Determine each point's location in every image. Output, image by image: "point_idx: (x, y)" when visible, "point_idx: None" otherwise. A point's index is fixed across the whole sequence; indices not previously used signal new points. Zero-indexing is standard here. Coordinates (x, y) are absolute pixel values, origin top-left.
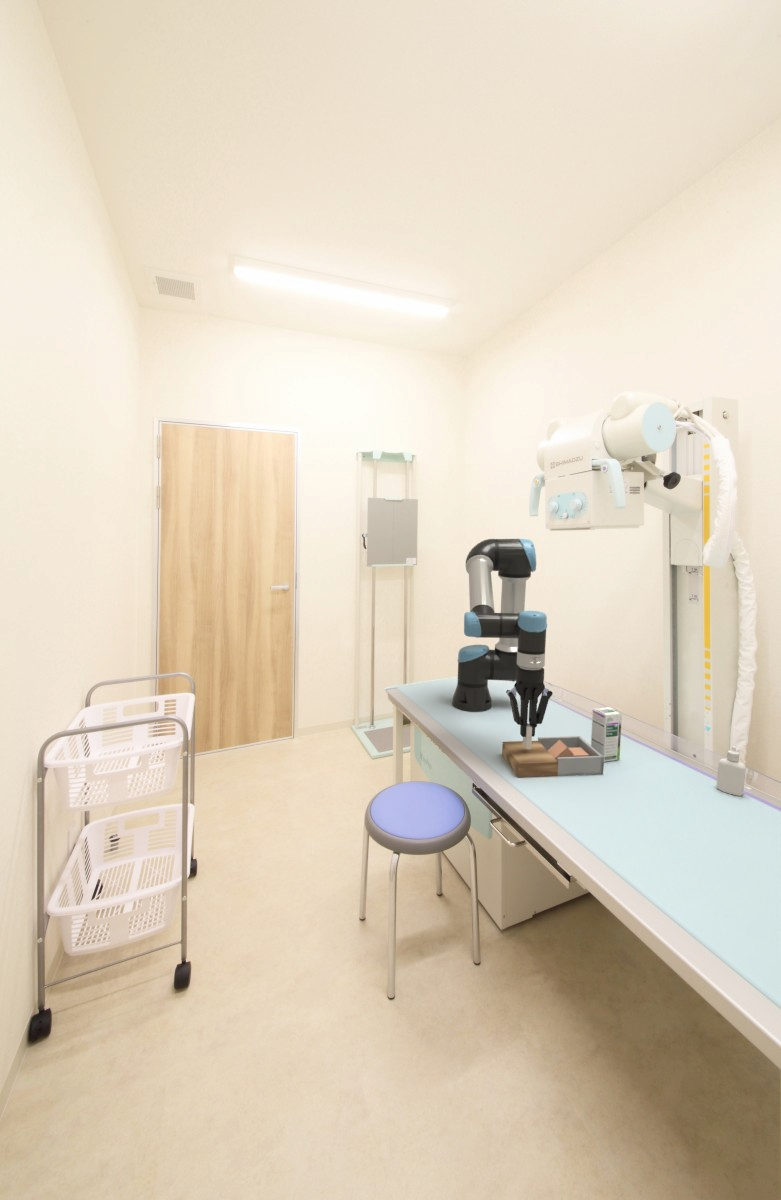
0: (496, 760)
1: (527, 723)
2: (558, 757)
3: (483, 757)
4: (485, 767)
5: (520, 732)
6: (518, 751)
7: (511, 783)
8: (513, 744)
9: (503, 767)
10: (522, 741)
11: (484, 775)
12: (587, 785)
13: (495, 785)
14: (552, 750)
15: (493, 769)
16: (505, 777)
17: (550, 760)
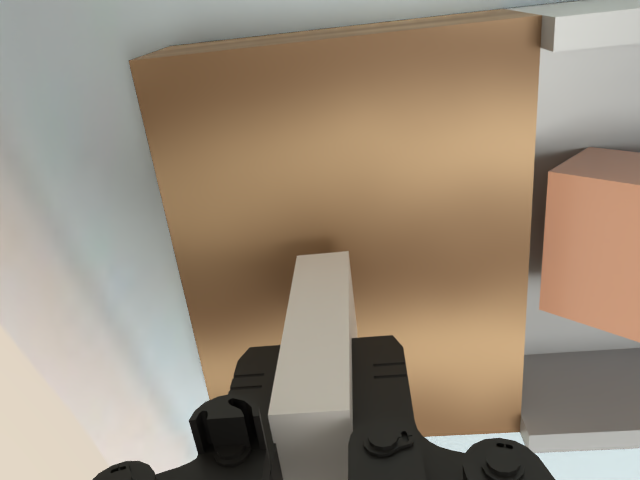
0: (117, 157)
1: (331, 412)
2: (538, 438)
3: (14, 107)
4: (37, 261)
5: (236, 379)
6: (255, 271)
7: (188, 430)
8: (236, 127)
9: (161, 260)
10: (351, 47)
11: (35, 354)
12: (618, 450)
13: (98, 445)
14: (587, 227)
15: (91, 286)
16: (161, 374)
17: (471, 410)
